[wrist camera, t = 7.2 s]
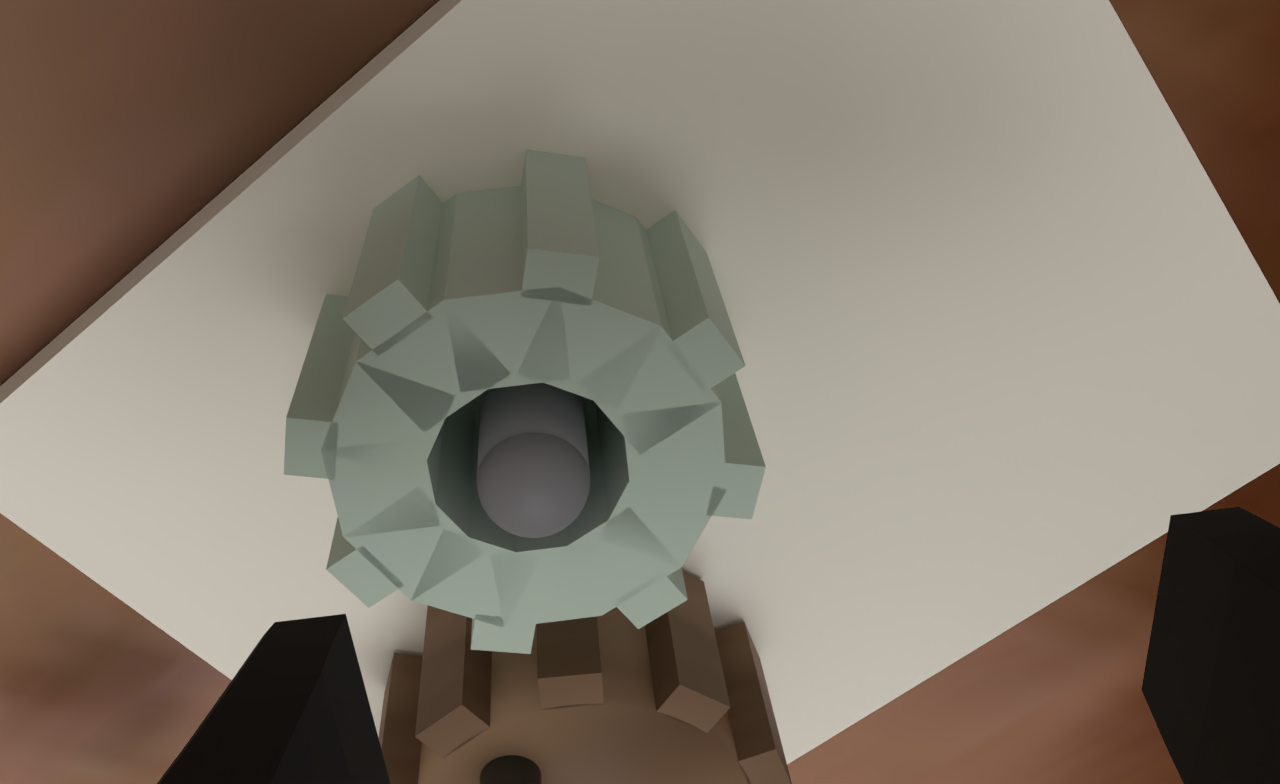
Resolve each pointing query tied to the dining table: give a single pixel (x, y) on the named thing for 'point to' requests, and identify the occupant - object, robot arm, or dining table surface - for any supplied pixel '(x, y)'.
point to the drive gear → (585, 704)
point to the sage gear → (518, 355)
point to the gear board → (758, 311)
